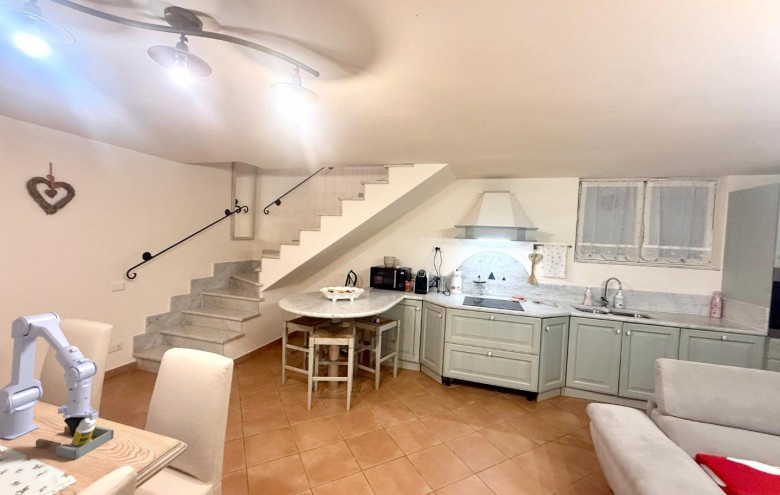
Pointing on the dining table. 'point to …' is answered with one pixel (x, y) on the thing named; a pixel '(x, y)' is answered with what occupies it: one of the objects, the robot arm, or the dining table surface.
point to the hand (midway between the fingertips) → (76, 436)
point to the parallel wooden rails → (50, 442)
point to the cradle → (74, 453)
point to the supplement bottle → (83, 433)
